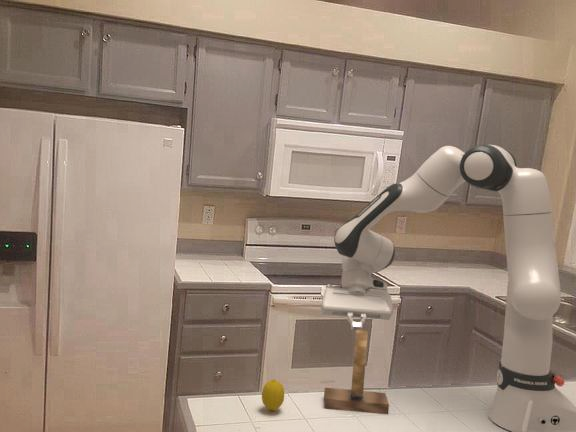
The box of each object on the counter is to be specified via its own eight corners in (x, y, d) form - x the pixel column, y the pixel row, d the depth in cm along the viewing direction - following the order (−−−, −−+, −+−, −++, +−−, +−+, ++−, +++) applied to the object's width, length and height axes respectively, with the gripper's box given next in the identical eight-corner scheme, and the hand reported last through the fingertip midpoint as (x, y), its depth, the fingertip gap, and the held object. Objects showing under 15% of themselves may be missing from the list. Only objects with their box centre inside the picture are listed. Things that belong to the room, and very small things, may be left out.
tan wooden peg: (362, 395, 134) (367, 330, 133) (363, 400, 131) (368, 333, 130) (350, 394, 135) (355, 329, 134) (351, 399, 132) (356, 332, 131)
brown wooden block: (384, 402, 138) (385, 392, 138) (388, 414, 131) (389, 403, 131) (324, 396, 139) (324, 386, 139) (324, 408, 132) (325, 398, 132)
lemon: (280, 417, 126) (282, 385, 125) (258, 414, 127) (260, 382, 126) (285, 407, 131) (287, 376, 130) (263, 404, 132) (265, 373, 131)
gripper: (321, 278, 151) (319, 320, 142) (392, 283, 150) (395, 326, 141) (320, 289, 156) (318, 331, 147) (389, 295, 155) (391, 337, 146)
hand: (356, 329), depth 144 cm, fingers closed
